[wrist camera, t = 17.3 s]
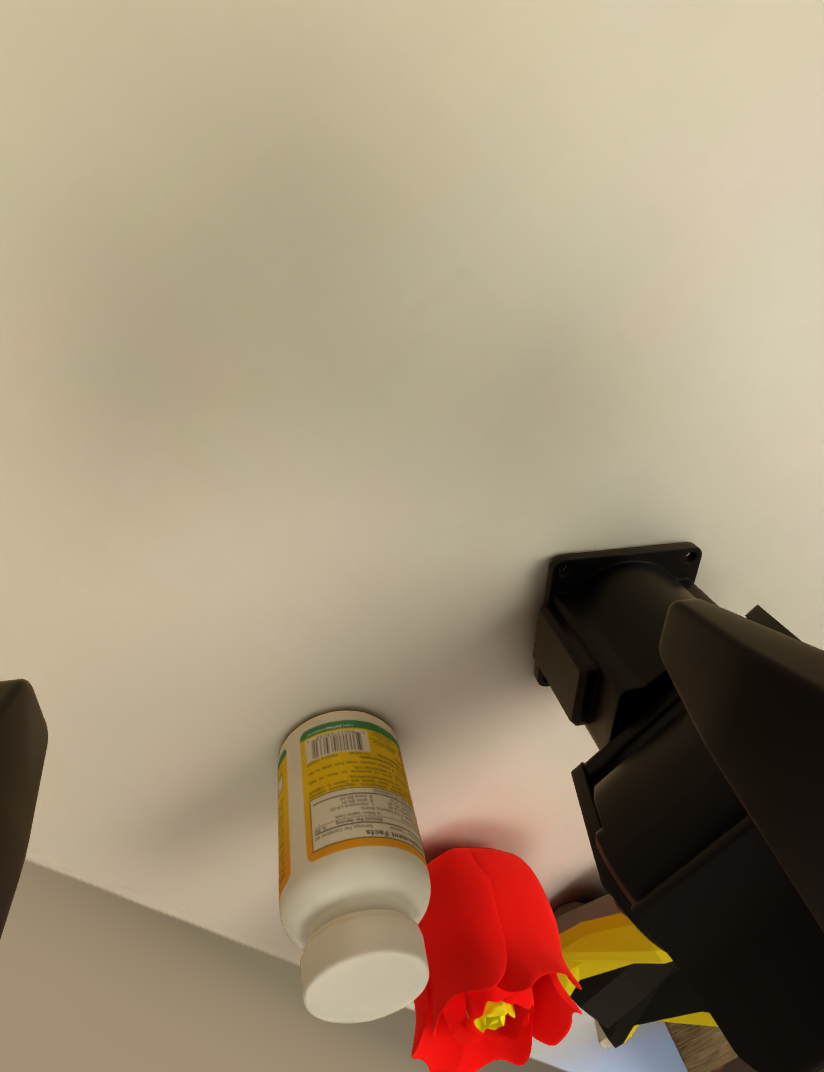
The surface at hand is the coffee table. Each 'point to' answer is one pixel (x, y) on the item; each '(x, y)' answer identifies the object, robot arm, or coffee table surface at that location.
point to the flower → (488, 964)
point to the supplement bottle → (351, 868)
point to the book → (705, 1049)
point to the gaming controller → (621, 973)
